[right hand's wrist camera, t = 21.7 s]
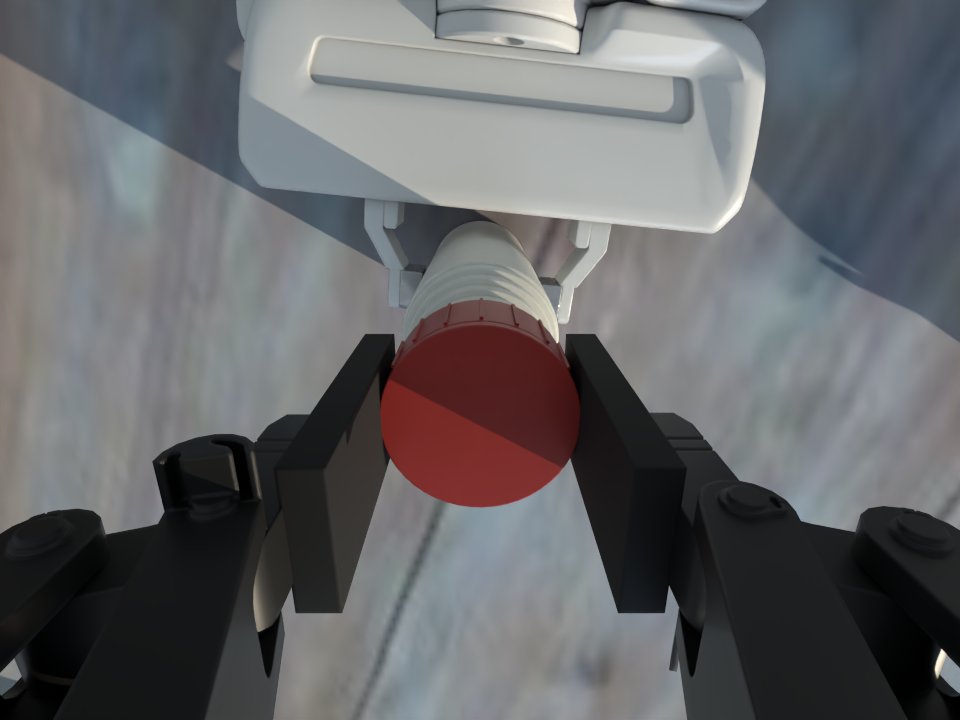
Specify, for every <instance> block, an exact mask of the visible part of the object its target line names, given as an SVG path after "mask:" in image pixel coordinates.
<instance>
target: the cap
mask: <svg viewBox="0 0 960 720" xmlns="http://www.w3.org/2000/svg"><path fill="white" fill-rule="evenodd" d="M390 367H391V368H392V370H391V372H390V375H389V377H388V379H387V382H386V384H385V386H384V389H383V392H382V396H381V400H380V412H381V426H382V439H383V442H384V445H385V448H386V450H387V452H388V454H389V456H390V458H391V460H392V461H393V463H394V464H395V466H396V467H397V469H398V470H399V471H400V472H401V473H402V474H403V475H404V476H405V478H407V479H408V480H409V481H410V482H411V483H412V484H413V485H415V486H416V487H418V488H419V489H420V490H422V491H423V492H425V493H427V494H429V495H431V496H433V497H435V498H437V499H440V500H442V501H445V502H448V503H452V504H456V505H461V506H468V507H493V506H500V505H505V504H509V503H512V502H515V501H518V500H521V499H523V498H525V497H528V496H530V495H532V494H533V493H535V492H537V491H539V490H540V489H542V488H543V487H544V486H546V485H547V484H548V483H549V482H551V481H552V480H553V479H554V478H555V477H556V476H557V475H558V474H559V473H560V471H561V470H562V469H563V468H564V466H565V465H566V464H567V462H568V460H569V458H570V457H571V455H572V453H573V451H574V449H575V446H576V444H577V441H578V431H579V418H580V399H579V394H578V391H577V388H576V385H575V383H574V380H573V378H572V376H571V373H570V371H569V370H571V367H570V365H569V363H568V361H567V358H566V356H565V354H564V352H563V350H562V347H561V345H560V343H559V342H558V343H556V341H555V339H554V338H553V336H552V335H551V334H550V332H549V331H548V330H547V329H546V328H545V327H544V326H543V323H542V321H541V320H540V319H539V320H537V319H536V318H534V317H533V316H532V315H530V314H528V313H527V312H525V311H523V310H521V309H519V308H517V307H515V304H511V305H509V304H506V303H502V302H498V301H491V300H483V298H480V300H469V301H463V302H458V303H454V304H451V303H448V305H447V306H446V307H443V308H441V309H439V310H437V311H435V312H434V313H432V314H430V315H429V316H428V317H426V318H425V319H424V318H422V319H420V322H419V324H418V325H417V326H416V327H415V328H414V329H413V330H412V332H411V333H410V334H409V335H408V337H407V338H406V340H405V342H404V341H402V342H401V344H400V346H399V349H398V351H397V353H396V355H395V357H394V360H393V362H392V364H391V366H390Z"/></svg>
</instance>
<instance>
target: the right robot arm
mask: <svg viewBox="0 0 960 720" xmlns="http://www.w3.org/2000/svg"><path fill="white" fill-rule="evenodd" d="M565 356H566V358H567V361H568V363H569V365H570V367H571V370H569V371H570V373H571V376H572V378H573V380H574V383H575V385H576V388H577V391H578V394H579V399H580V418H579V431H578V441H577V444H576V446H575V449H574V451H573V453H572V455H571V457H570V459H571V462H572V465H573V468H574V472H575V475H576V478H577V481H578V485H579V488H580V491H581V494H582V498H583V501H584V504H585V507H586V510H587V514H588V517H589V520H590V523H591V527H592V530H593V533H594V536H595V540H596V543H597V546H598V549H599V553H600V556H601V559H602V562H603V565H604V569H605V572H606V575H607V578H608V582H609V585H610V588H611V591H612V595H613V598H614V601H615V604H616V607H617V611H618V613H665V607H666V601H667V595H668V588H669V586H670V588H671V590H672V592H673V595H674V597H675V599H676V601H677V603H678V606H679V612H678V618H677V624H676V630H675V636H674V642H673V648H672V654H671V660H670V668H669V670H671V671H677V667H678V661H679V663H680V670H681V678H682V685H683V692H684V699H685V706H686V714H687V720H960V693H958V692H957V691H956V690H954V689H953V688H952V687H951V686H950V685H949V684H948V683H947V682H946V681H945V680H944V679H943V678H942V677H941V676H940V672H941V669H942V667H943V665H944V662H945V660H946V657H947V655H948V656H949V657H950V658H951V659H952V660H953V661H954V662H955V663H956V664H957V665H958V667H959V668H960V530H958V529H957V528H955V527H953V526H952V525H950V524H948V523H946V522H943V521H941V520H939V519H936V518H934V517H932V516H931V515H929V514H927V513H923V512H920V511H914V510H913V509H907V508H896V507H886V506H881V507H875V508H868V509H867V510H866V511H865V512H863V513H862V514H861V515H860V518H859V522H858V525H857V529H856V532H851V531H846V530H841V529H835V528H830V527H825V526H820V525H814V524H810V523H806V522H802V521H801V520H800V519H799V517H798V515H797V513H796V511H795V510H794V509H793V508H792V506H791V505H790V504H789V503H788V502H787V501H786V500H785V499H783V498H782V497H780V496H779V495H777V494H776V493H774V492H772V491H770V490H768V489H765V488H763V487H760V486H758V485H755V484H751V483H747V482H742V481H739V480H738V478H737V477H736V476H735V475H734V474H733V472H732V471H731V470H730V469H729V468H728V466H727V465H726V464H725V463H724V462H723V460H722V459H721V458H720V457H719V455H718V454H717V453H716V452H715V451H713V450H712V447H711V446H710V445H709V443H708V442H707V441H706V440H703V436H702V435H701V434H700V433H699V431H698V430H697V429H696V428H695V426H694V425H693V424H692V423H690V422H688V421H686V420H685V419H683V418H681V417H680V416H678V415H676V414H675V413H649V412H648V410H647V409H646V408H645V406H644V405H643V403H642V402H641V400H640V399H639V397H638V396H637V394H636V393H635V392H634V390H633V389H632V387H631V386H630V384H629V383H628V381H627V380H626V378H625V377H624V376H623V374H622V373H621V371H620V370H619V368H618V367H617V365H616V364H615V362H614V361H613V360H612V358H611V357H610V355H609V354H608V352H607V351H606V349H605V348H604V346H603V345H602V344H601V342H600V341H599V339H598V338H597V336H596V335H595V334H566V346H565ZM394 357H395V340H394V334H365V335H364V337H363V338H362V340H361V341H360V343H359V344H358V346H357V347H356V348H355V350H354V351H353V353H352V354H351V356H350V357H349V359H348V360H347V362H346V363H345V364H344V366H343V367H342V369H341V370H340V372H339V373H338V375H337V376H336V378H335V379H334V380H333V382H332V383H331V385H330V386H329V388H328V389H327V391H326V392H325V394H324V395H323V396H322V398H321V399H320V401H319V402H318V404H317V405H316V407H315V408H314V410H313V411H312V412H311V414H310V415H286V416H284V417H282V418H281V419H279V420H277V421H276V422H274V423H272V424H270V425H269V426H268V427H267V428H266V429H265V430H264V432H263V433H262V434H261V435H260V436H259V438H258V439H257V442H255V443H254V444H253V442H252V441H250V440H249V439H248V438H246V437H244V436H239V435H234V434H214V435H208V436H203V437H197V438H194V439H191V440H188V441H185V442H182V443H179V444H177V445H175V446H173V447H171V448H169V449H167V450H165V451H164V452H162V453H161V454H160V455H159V456H158V457H157V458H156V459H155V460H154V461H153V466H154V470H155V474H156V478H157V482H158V486H159V490H160V494H161V499H162V503H163V507H164V511H165V512H164V514H163V516H162V518H161V519H160V521H159V523H158V524H156V525H152V526H148V527H143V528H138V529H133V530H127V531H122V532H117V533H112V534H107V535H106V534H105V530H104V527H103V524H102V520H101V517H100V516H98V515H97V514H96V513H95V512H93V511H90V510H83V509H70V510H57V511H52V512H48V513H47V514H45V513H43V514H40V515H37V516H34V517H31V518H30V519H29V520H27V521H24V522H22V523H19V524H17V525H15V526H12V527H11V528H9V529H8V530H6V531H4V532H3V533H1V534H0V672H1V671H2V670H3V669H4V668H5V667H6V666H7V665H8V664H9V663H10V662H11V661H12V660H13V659H14V658H15V661H16V663H17V666H18V668H19V671H20V673H21V676H22V677H21V678H20V679H19V680H18V681H17V683H16V684H15V685H14V686H13V687H12V688H11V689H9V690H8V691H7V692H6V693H4V694H3V695H2V696H1V695H0V720H273V715H274V708H275V700H276V693H277V686H278V679H279V672H280V664H281V657H282V650H283V643H284V636H285V632H284V624H283V618H282V612H281V609H282V607H283V605H284V603H285V600H286V598H287V596H288V594H289V591H290V589H291V587H292V592H293V599H294V605H295V612H296V613H342V612H343V609H344V605H345V602H346V599H347V596H348V592H349V589H350V586H351V583H352V580H353V576H354V573H355V570H356V567H357V563H358V560H359V557H360V554H361V550H362V547H363V544H364V541H365V537H366V534H367V531H368V528H369V525H370V521H371V518H372V515H373V512H374V508H375V505H376V502H377V499H378V495H379V492H380V489H381V486H382V482H383V479H384V476H385V473H386V470H387V466H388V463H389V460H390V456H389V454H388V452H387V450H386V448H385V445H384V442H383V439H382V426H381V412H380V400H381V396H382V392H383V389H384V386H385V384H386V382H387V379H388V377H389V375H390V372H391V370H392V368H391V367H390V366H391V364H392V362H393V360H394Z"/></svg>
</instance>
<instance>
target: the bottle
mask: <svg viewBox="0 0 960 720" xmlns="http://www.w3.org/2000/svg"><path fill="white" fill-rule="evenodd" d="M480 298H483V300H491V301H498V302H502V303H506V304H509V305H511V304H515V307H517V308H519V309H521V310H523V311H525V312H527V313H528V314H530V315H532V316H533V317H534V318H536V319H537V320H539V319H540V320H541V321H542V323H543V326H544V327H545V328H546V329H547V330H548V331H549V332H550V334H551V335H552V336H553V338H554V339H555V341H556V343H558V324H557V319H556V315H555V312H554V309H553V307H552V305H551V302H550V300H549V298H548V297H547V295H546V293H545V291H544V289H543V287H542V285H541V283H540V281H539V279H538V277H537V275H536V274H535V272H534V270H533V268H532V266H531V264H530V262H529V260H528V258H527V256H526V254H525V253H524V251H523V249H522V247H521V245H520V243H519V242H518V240H517V239H516V238H515V236H514V235H513V234H512V233H511V232H509V231H508V230H507V229H505V228H504V227H502V226H500V225H498V224H495V223H492V222H487V221H473V222H468V223H465V224H462V225H460V226H458V227H456V228H455V229H453V230H452V231H451V232H450V233H449V234H448V235H447V236H446V237H445V238H444V239H443V240H442V242H441V244H440V245H439V247H438V249H437V251H436V253H435V255H434V257H433V259H432V261H431V263H430V264H429V266H428V268H427V270H426V272H425V274H424V276H423V278H422V280H421V282H420V284H419V286H418V287H417V289H416V291H415V293H414V295H413V297H412V299H411V301H410V303H409V305H408V307H407V310H406V313H405V316H404V319H403V326H402V341H404V342H405V340H406V338H407V337H408V335H409V334H410V333H411V332H412V330H413V329H414V328H415V327H416V326H417V325H418V324H419V322H420V319H422V318H424V319H425V318H426V317H428V316H429V315H430V314H432V313H434V312H435V311H437V310H439V309H441V308H443V307H446V306H447V305H448V303H451V304H454V303H458V302H463V301H469V300H480Z"/></svg>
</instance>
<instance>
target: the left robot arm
mask: <svg viewBox="0 0 960 720" xmlns="http://www.w3.org/2000/svg"><path fill="white" fill-rule="evenodd" d="M766 1H767V0H236V7H237V20H238V25H239V30H240V33H241V36H242V38H243V41H244V48H243V57H242V67H241V77H240V91H239V114H238V149H239V156H240V159H241V161H242V163H243V165H244V166H245V168H246V169H247V170H248V172H249V173H250V174H251V176H252V177H253V178H254V180H255V181H256V182H257V183H258V184H259V185H260V186H262V187H265V188H273V189H283V190H292V191H302V192H312V193H321V194H331V195H341V196H350V197H360V198H365V210H364V227H365V229H366V231H367V233H368V235H369V237H370V239H371V241H372V242H373V244H374V246H375V248H376V250H377V252H378V254H379V256H380V258H381V259H382V261H383V263H384V265H385V267H386V268H387V269H389V286H388V305H389V307H395V308H407V307H408V305H409V303H410V301H411V299H412V297H413V295H414V293H415V291H416V289H417V287H418V286H419V284H420V282H421V280H422V278H423V276H424V274H425V272H426V266H425V265H417V264H409V261H408V259H407V257H406V255H405V253H404V251H403V249H402V247H401V244H400V242H399V240H398V238H397V236H396V234H395V232H394V230H393V229H395V228H397V227H398V226H399V225H401V224H402V223H403V222H404V211H405V202H408V203H418V204H428V205H437V206H447V207H457V208H466V209H476V210H486V211H495V212H505V213H515V214H524V215H534V216H544V217H553V218H563V219H570V224H569V231H568V238H567V239H568V240H569V241H570V242H571V243H572V244H573V245H575V246H576V249H575V250H574V251H573V253H572V254H571V255H570V257H569V258H568V259H567V261H566V262H565V263H564V265H563V266H562V267H561V269H560V270H559V271H558V273H557V274H556V275H555V278H547V277H538V279H539V281H540V283H541V285H542V287H543V289H544V291H545V293H546V295H547V297H548V298H549V300H550V302H551V305H552V307H553V309H554V312H555V315H556V319H557V323H561V324H567V322H568V319H569V315H570V309H571V303H572V297H573V291H574V287H578V285H579V284H580V283H581V282H582V281H583V279H584V278H585V277H586V276H587V274H588V273H589V272H590V271H591V270H592V268H593V267H594V266H595V265H596V264H597V262H598V261H599V260H600V259H601V257H602V256H603V255H604V254H605V253H606V251H607V245H608V240H609V235H610V229H611V224H621V225H631V226H641V227H650V228H660V229H670V230H679V231H689V232H699V233H709V234H711V233H715V232H717V231H718V230H719V229H721V228H722V227H723V226H724V225H725V224H726V223H727V222H728V221H729V220H730V219H731V218H732V217H733V216H734V215H735V214H737V212H738V211H739V209H740V208H741V205H742V203H743V200H744V197H745V194H746V190H747V186H748V182H749V178H750V174H751V170H752V165H753V161H754V156H755V151H756V146H757V141H758V135H759V129H760V123H761V116H762V109H763V101H764V93H765V82H766V68H765V59H764V54H763V50H762V47H761V44H760V42H759V40H758V38H757V37H756V35H755V34H754V33H753V31H752V30H751V29H750V28H749V27H747V26H746V25H745V24H743V23H742V21H743V20H745V19H746V18H747V17H749V16H750V15H751V14H753V13H754V12H755V11H756V10H758V9H759V8H760V7H761V6H762V5H763V4H764V3H765V2H766Z"/></svg>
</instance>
